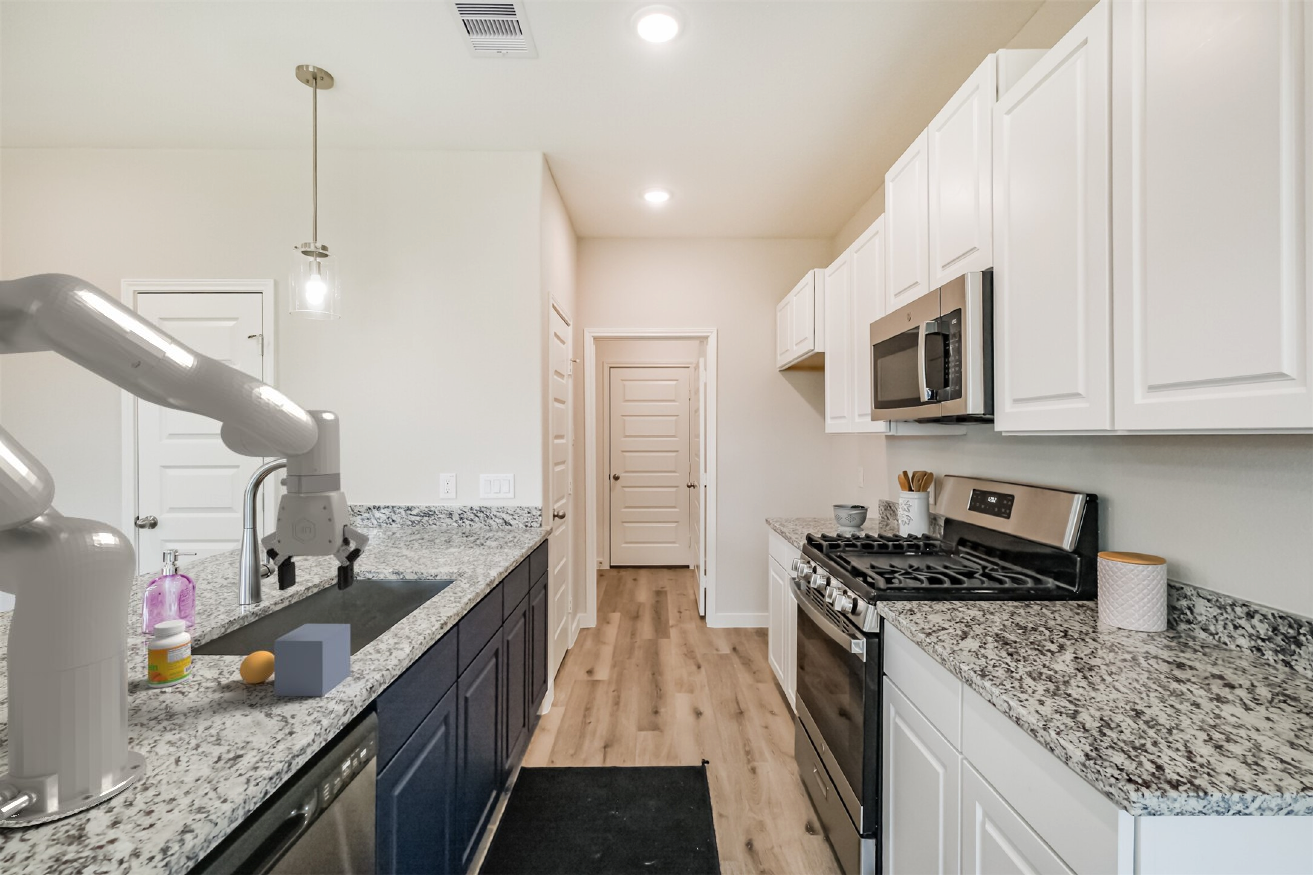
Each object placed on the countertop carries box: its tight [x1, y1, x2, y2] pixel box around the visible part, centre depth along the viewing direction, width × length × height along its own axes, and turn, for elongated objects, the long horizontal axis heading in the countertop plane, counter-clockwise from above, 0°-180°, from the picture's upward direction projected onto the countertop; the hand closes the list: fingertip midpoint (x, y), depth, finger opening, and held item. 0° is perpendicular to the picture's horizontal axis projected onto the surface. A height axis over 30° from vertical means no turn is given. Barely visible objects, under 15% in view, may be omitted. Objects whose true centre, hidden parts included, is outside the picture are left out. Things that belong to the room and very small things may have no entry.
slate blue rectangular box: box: [273, 623, 351, 697], centre depth 90 cm, size 8×8×9 cm
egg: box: [239, 650, 274, 684], centre depth 91 cm, size 5×5×5 cm
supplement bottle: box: [147, 619, 192, 689], centre depth 92 cm, size 5×5×10 cm
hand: (316, 587), depth 91 cm, fingers open, 9 cm apart
